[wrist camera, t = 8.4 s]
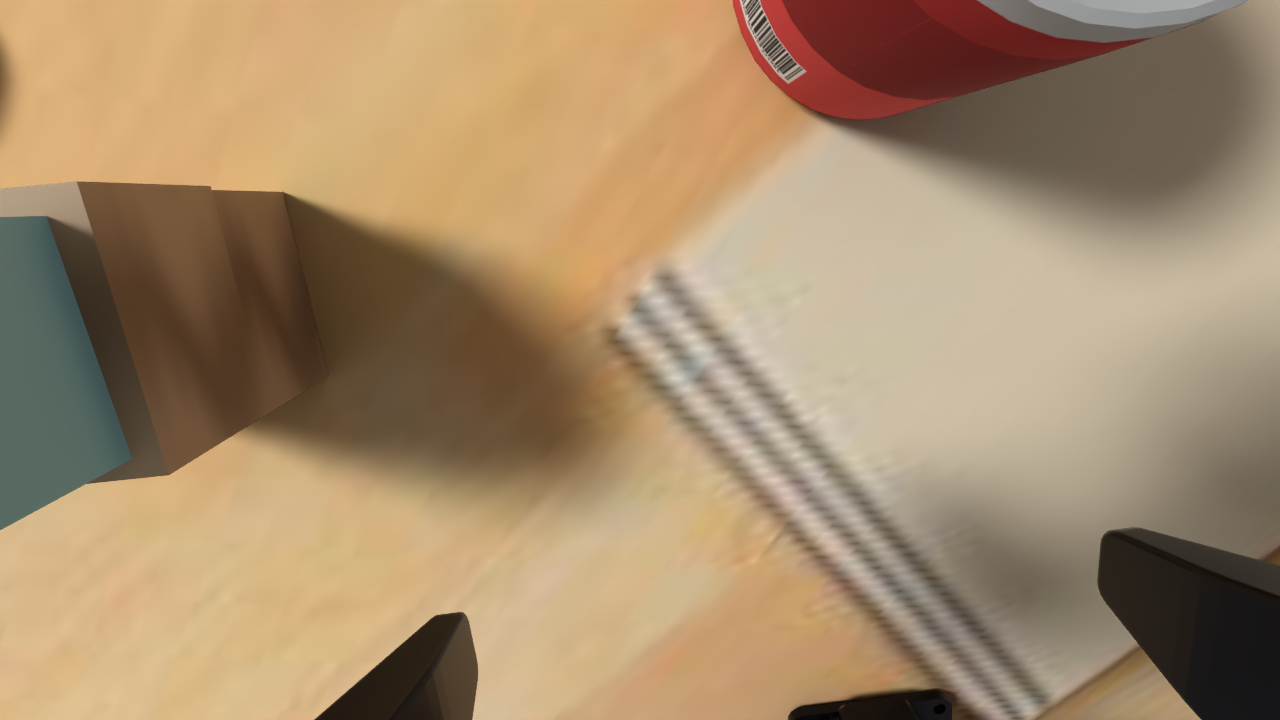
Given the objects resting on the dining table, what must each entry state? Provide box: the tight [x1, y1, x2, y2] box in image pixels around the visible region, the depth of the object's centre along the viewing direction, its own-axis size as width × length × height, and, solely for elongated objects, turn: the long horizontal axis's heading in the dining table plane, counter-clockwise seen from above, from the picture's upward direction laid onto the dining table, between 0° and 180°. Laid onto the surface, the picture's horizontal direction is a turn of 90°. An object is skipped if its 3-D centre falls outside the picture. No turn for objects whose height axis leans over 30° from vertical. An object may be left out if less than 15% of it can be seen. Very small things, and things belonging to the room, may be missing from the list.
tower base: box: [212, 190, 328, 415], centre depth 18 cm, size 6×6×4 cm
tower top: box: [0, 182, 270, 484], centre depth 14 cm, size 6×6×4 cm
